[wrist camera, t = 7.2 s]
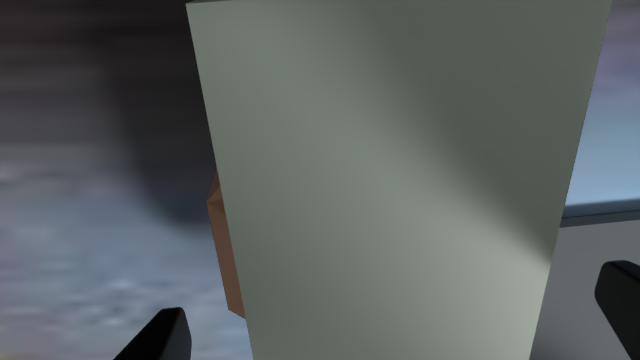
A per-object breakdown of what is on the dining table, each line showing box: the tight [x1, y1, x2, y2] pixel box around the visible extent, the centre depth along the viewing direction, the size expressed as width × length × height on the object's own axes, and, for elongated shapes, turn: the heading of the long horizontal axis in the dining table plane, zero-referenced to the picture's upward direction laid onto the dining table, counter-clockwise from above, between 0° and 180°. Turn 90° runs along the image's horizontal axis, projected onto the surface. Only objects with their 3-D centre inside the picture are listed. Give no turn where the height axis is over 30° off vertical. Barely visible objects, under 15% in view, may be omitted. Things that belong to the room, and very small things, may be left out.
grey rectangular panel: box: [529, 211, 640, 360], centre depth 19 cm, size 12×9×1 cm
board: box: [186, 0, 612, 360], centre depth 10 cm, size 12×6×2 cm, turn 3°
